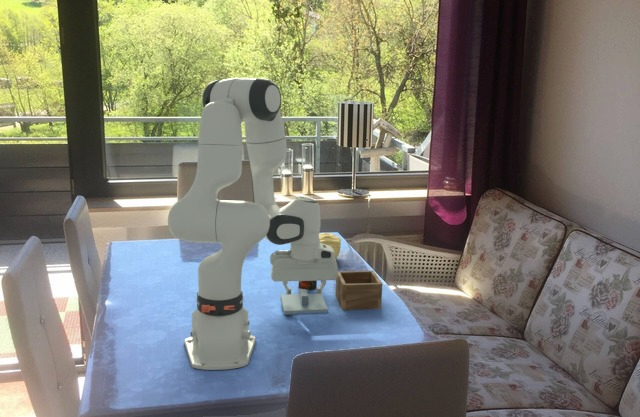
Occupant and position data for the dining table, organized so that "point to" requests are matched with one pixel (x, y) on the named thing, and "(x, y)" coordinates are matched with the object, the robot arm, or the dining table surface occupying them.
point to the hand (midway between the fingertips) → (304, 293)
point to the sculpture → (331, 242)
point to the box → (358, 290)
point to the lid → (303, 303)
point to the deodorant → (308, 285)
